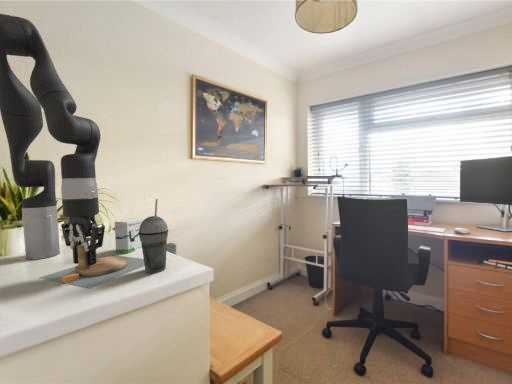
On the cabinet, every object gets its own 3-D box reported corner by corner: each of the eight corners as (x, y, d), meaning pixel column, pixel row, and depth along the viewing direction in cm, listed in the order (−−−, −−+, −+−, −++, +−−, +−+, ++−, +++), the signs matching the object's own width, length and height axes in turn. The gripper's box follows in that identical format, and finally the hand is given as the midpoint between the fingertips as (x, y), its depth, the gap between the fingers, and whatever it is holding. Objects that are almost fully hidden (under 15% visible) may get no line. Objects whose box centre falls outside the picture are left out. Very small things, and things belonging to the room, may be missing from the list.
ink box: (128, 258, 83) (126, 221, 83) (115, 257, 84) (113, 222, 84) (145, 250, 92) (143, 217, 91) (133, 250, 93) (131, 217, 92)
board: (39, 283, 64) (38, 273, 64) (112, 259, 82) (112, 251, 82) (88, 295, 56) (88, 283, 56) (157, 265, 75) (157, 257, 74)
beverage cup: (146, 271, 70) (142, 198, 69) (173, 269, 71) (170, 197, 70) (136, 281, 63) (131, 200, 62) (166, 279, 64) (162, 199, 63)
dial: (110, 259, 77) (109, 234, 77) (136, 264, 72) (135, 238, 71) (65, 272, 67) (63, 244, 66) (92, 280, 61) (90, 249, 61)
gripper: (46, 198, 64) (51, 265, 64) (83, 197, 58) (88, 272, 59) (78, 195, 70) (82, 257, 71) (113, 195, 65) (117, 262, 65)
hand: (85, 263), depth 65 cm, fingers open, 4 cm apart
